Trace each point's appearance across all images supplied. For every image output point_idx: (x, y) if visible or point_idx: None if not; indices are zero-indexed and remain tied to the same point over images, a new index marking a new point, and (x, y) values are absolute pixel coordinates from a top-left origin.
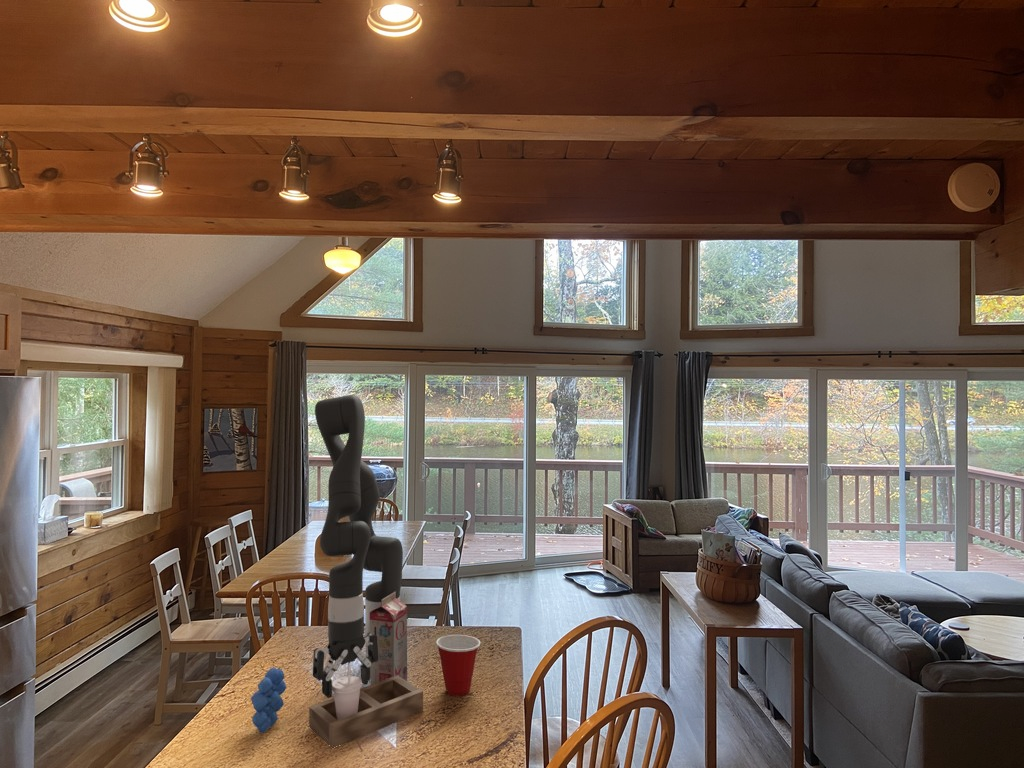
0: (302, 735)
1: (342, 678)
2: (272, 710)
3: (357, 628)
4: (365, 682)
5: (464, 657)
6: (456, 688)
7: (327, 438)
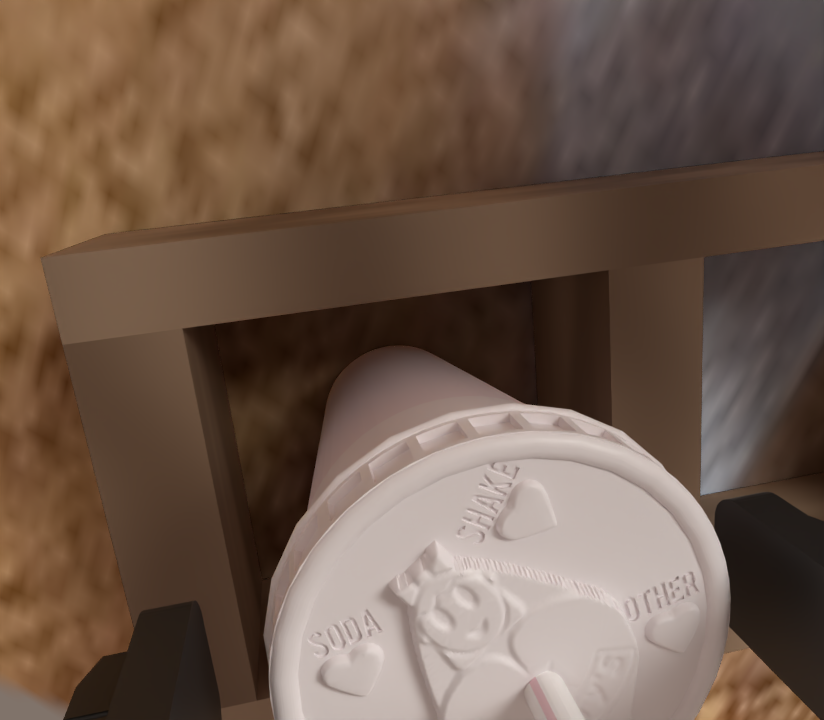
0: (19, 326)
1: (515, 492)
2: None
3: None
4: (738, 635)
5: None
6: None
7: None
